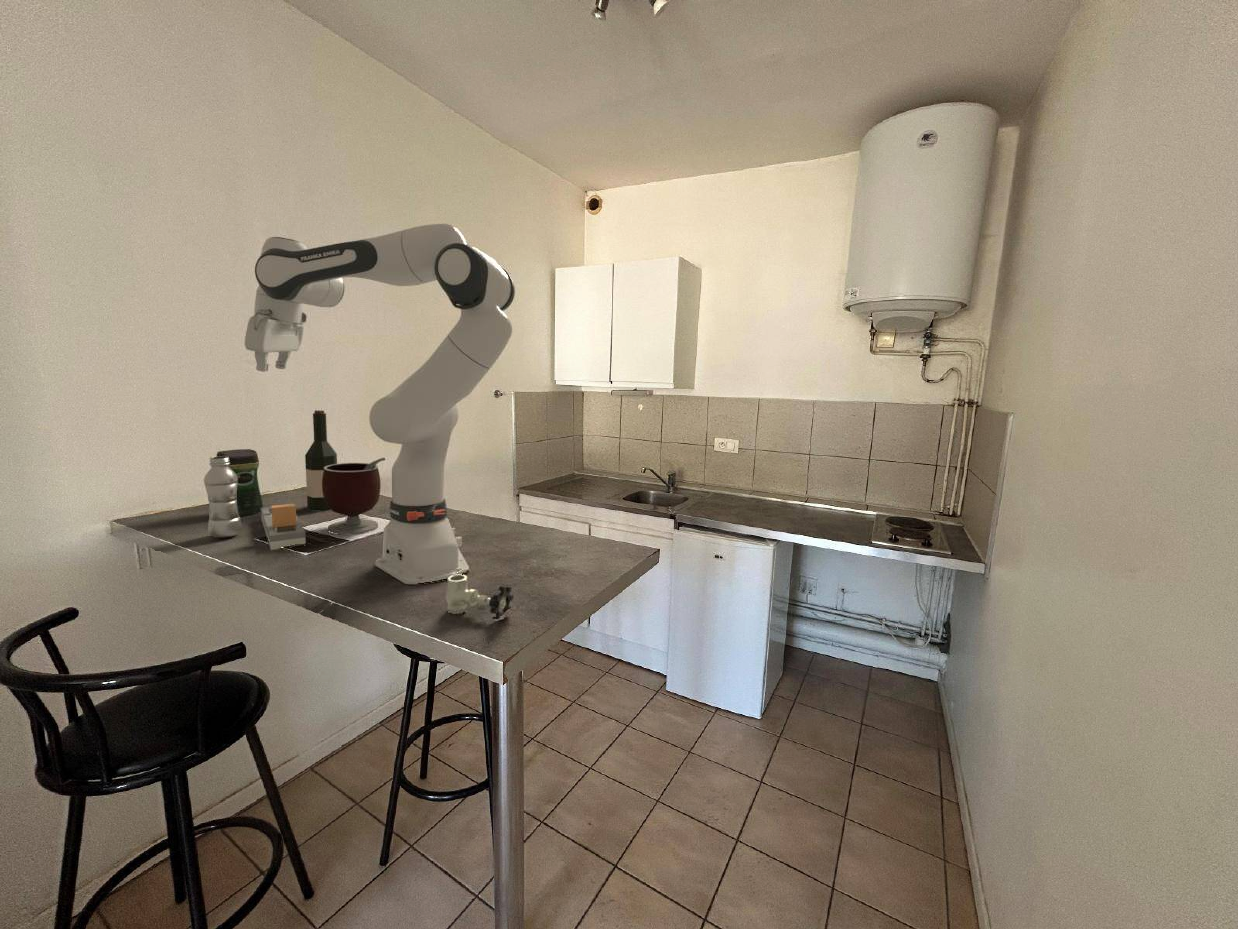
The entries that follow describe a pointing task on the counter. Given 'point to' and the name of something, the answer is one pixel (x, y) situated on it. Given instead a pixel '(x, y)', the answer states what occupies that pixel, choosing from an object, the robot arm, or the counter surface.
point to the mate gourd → (352, 494)
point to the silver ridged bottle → (222, 498)
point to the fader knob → (283, 517)
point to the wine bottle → (318, 463)
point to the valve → (475, 596)
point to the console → (281, 538)
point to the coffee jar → (245, 479)
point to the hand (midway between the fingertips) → (271, 369)
